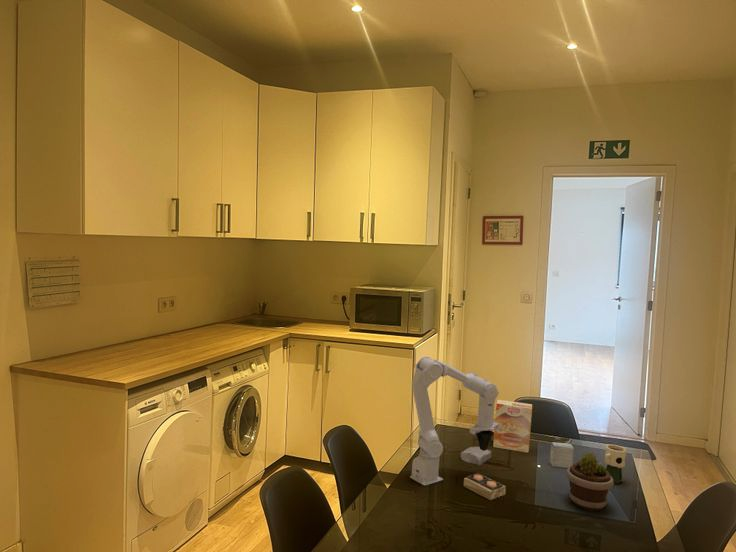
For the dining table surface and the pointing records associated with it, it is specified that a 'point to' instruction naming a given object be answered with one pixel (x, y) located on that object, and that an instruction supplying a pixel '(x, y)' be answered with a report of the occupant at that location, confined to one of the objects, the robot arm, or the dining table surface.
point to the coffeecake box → (513, 425)
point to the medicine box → (561, 455)
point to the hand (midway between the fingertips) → (483, 449)
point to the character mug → (615, 461)
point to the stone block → (475, 455)
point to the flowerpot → (589, 483)
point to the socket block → (484, 487)
